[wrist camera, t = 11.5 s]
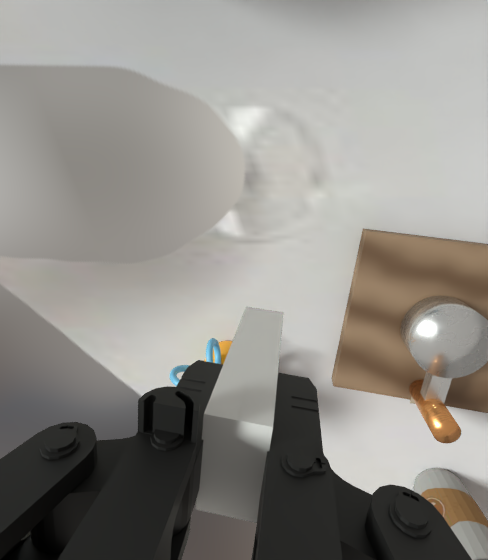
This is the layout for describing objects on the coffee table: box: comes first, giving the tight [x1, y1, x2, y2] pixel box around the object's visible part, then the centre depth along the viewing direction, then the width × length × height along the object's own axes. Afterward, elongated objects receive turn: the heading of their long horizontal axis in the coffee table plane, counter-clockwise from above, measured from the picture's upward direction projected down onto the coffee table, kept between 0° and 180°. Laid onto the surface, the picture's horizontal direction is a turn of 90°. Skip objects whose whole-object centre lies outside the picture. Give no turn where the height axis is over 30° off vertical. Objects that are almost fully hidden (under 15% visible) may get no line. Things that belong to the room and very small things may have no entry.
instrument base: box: [332, 229, 488, 413], centre depth 39 cm, size 20×20×4 cm
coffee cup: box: [413, 468, 488, 560], centre depth 40 cm, size 8×8×15 cm
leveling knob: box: [401, 296, 488, 443], centre depth 36 cm, size 13×8×8 cm, turn 174°
